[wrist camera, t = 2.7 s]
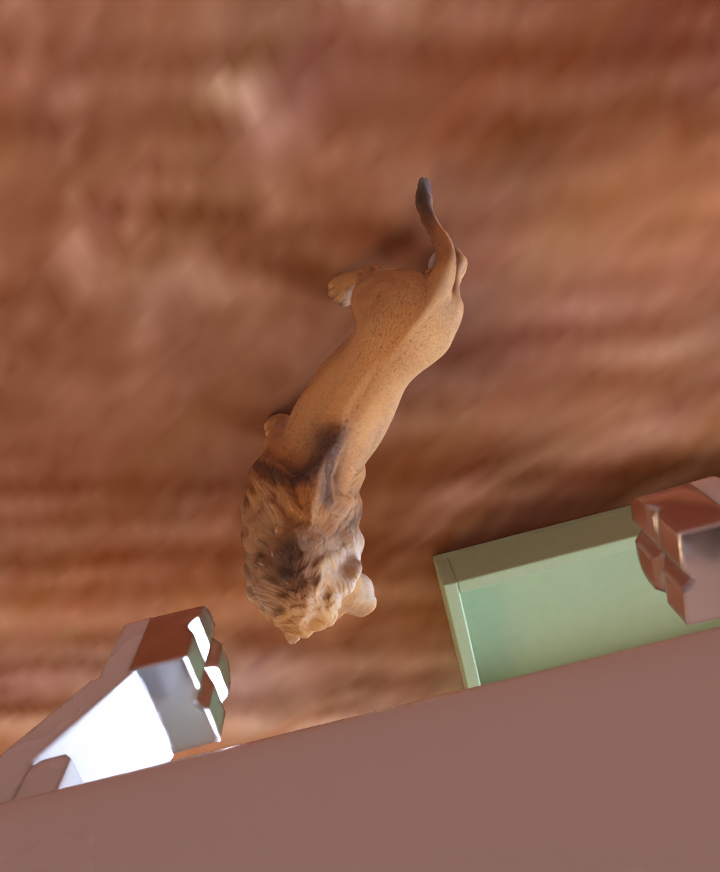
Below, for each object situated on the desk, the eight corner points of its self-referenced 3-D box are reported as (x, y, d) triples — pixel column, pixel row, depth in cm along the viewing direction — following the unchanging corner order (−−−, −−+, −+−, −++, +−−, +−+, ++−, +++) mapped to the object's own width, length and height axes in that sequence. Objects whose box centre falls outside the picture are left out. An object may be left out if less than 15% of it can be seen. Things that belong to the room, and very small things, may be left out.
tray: (468, 707, 32) (481, 745, 30) (432, 555, 29) (442, 585, 27) (813, 618, 32) (852, 650, 30) (812, 457, 29) (855, 479, 27)
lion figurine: (350, 541, 29) (369, 685, 20) (231, 507, 28) (197, 643, 19) (485, 203, 24) (580, 204, 16) (348, 148, 23) (372, 119, 15)
